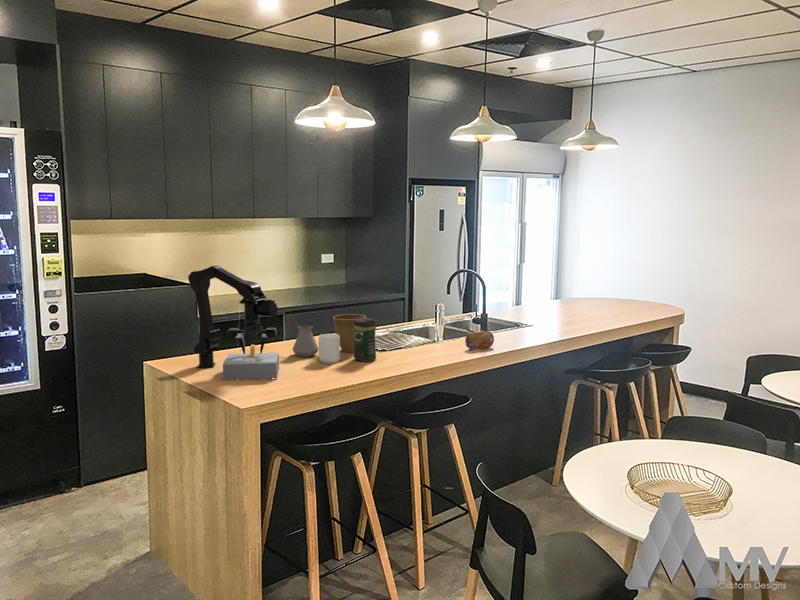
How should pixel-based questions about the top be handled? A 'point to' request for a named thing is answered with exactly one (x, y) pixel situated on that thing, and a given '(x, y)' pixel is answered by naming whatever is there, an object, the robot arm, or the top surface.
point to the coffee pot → (304, 341)
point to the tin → (479, 340)
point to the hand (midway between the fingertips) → (252, 353)
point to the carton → (250, 371)
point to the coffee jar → (364, 339)
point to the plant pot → (346, 330)
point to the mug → (329, 348)
